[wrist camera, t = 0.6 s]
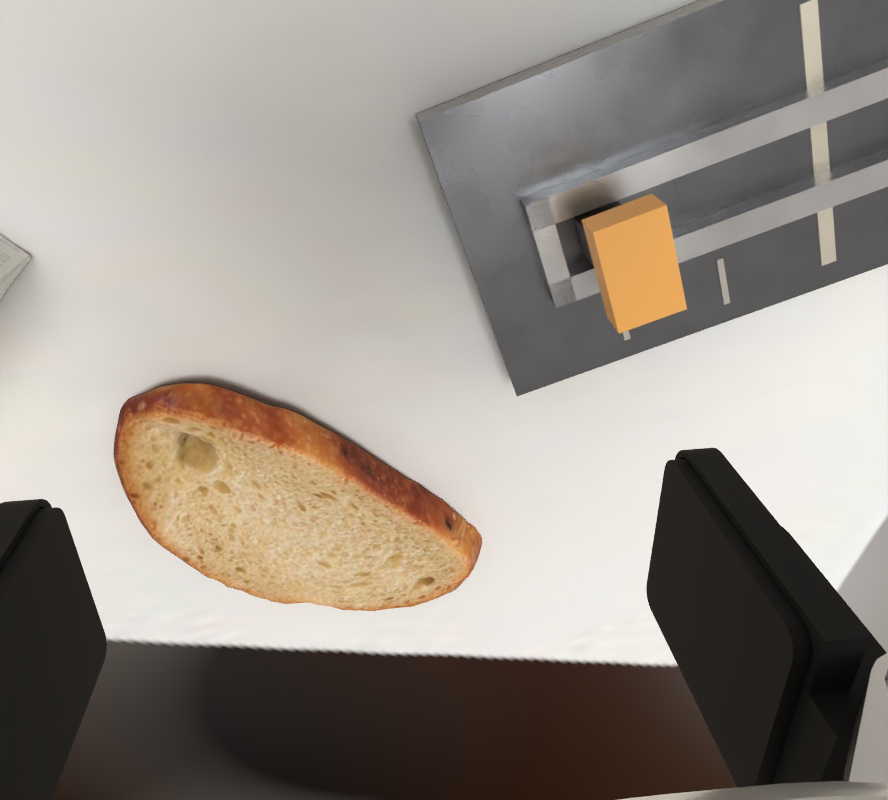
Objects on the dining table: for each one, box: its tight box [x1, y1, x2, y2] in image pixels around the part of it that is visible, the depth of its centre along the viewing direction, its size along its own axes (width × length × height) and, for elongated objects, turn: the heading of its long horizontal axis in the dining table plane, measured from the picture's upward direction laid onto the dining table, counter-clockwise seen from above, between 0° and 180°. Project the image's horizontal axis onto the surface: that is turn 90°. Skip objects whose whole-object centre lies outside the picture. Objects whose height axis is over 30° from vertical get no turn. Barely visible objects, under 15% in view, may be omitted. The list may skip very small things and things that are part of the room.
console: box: [416, 0, 888, 396], centre depth 32 cm, size 26×14×3 cm, turn 110°
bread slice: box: [114, 383, 482, 611], centre depth 40 cm, size 18×18×4 cm
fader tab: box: [574, 194, 687, 333], centre depth 30 cm, size 3×4×6 cm, turn 20°
